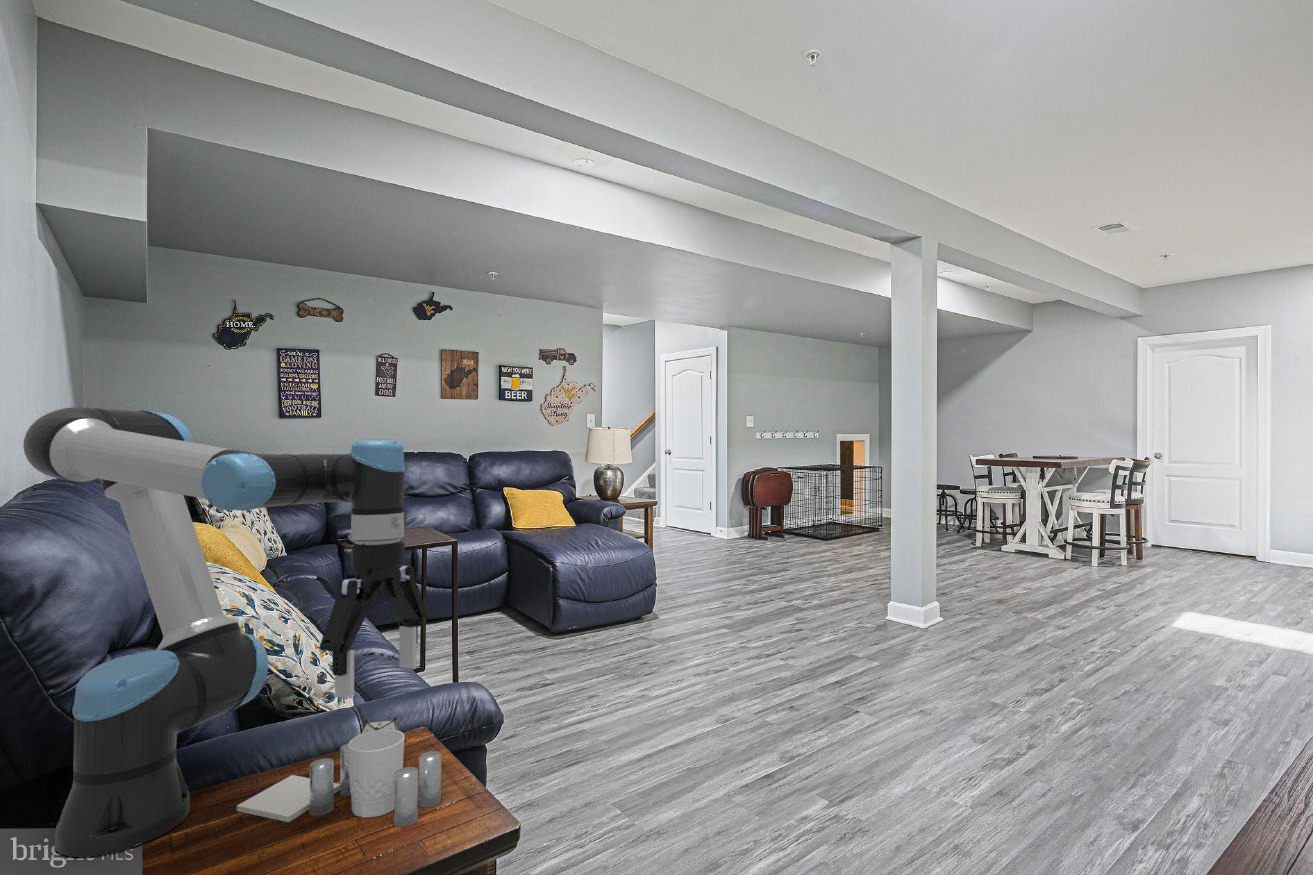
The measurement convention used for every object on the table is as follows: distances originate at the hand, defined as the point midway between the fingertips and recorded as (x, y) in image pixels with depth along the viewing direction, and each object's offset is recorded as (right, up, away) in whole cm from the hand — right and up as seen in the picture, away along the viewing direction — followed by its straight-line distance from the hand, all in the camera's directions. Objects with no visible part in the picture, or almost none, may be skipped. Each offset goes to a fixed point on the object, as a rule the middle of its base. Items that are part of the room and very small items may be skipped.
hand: (378, 681), depth 101 cm
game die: (-5, -19, +12) cm, 23 cm away
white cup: (0, -19, 0) cm, 19 cm away
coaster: (-14, -19, +1) cm, 24 cm away
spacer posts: (0, -19, 0) cm, 19 cm away
